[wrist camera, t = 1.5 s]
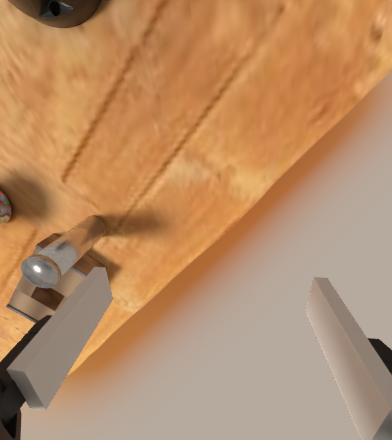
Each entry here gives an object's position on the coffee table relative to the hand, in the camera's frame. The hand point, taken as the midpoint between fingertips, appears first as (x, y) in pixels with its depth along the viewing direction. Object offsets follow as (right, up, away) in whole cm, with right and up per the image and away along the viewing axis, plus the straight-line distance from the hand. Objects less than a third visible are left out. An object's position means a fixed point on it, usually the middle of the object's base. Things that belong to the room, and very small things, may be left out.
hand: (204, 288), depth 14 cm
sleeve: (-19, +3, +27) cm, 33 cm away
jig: (-29, -9, +33) cm, 45 cm away
